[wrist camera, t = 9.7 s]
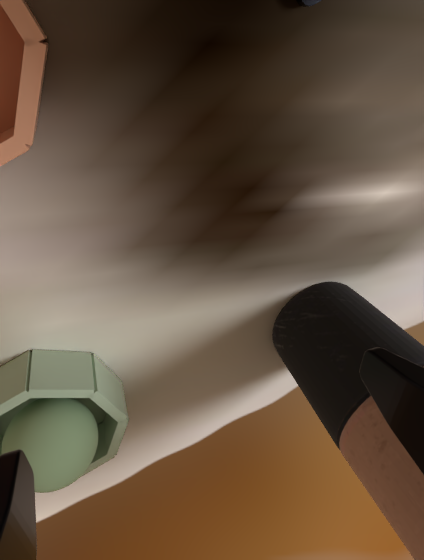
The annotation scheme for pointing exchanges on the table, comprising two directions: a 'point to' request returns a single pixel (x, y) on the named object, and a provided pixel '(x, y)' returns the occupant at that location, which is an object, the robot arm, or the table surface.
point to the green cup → (67, 392)
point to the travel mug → (354, 394)
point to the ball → (54, 440)
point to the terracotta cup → (19, 77)
